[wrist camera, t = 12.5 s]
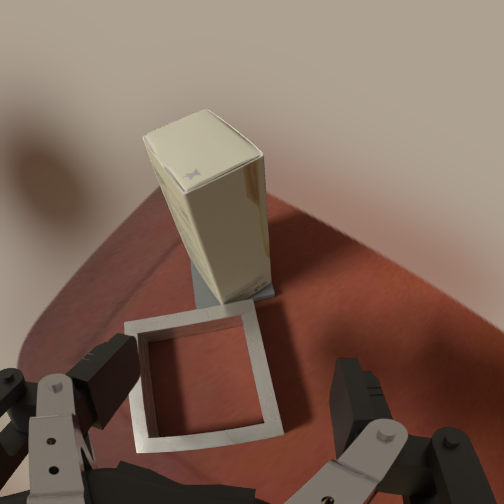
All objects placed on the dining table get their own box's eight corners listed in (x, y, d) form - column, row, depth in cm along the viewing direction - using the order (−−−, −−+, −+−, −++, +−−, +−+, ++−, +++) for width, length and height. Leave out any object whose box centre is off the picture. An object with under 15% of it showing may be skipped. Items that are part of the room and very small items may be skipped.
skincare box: (273, 283, 24) (272, 156, 14) (224, 313, 23) (185, 199, 12) (230, 228, 27) (207, 103, 17) (186, 252, 26) (139, 133, 16)
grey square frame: (283, 434, 18) (284, 434, 16) (148, 452, 18) (136, 453, 16) (254, 310, 23) (252, 298, 22) (135, 332, 23) (124, 322, 21)
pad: (274, 296, 24) (274, 293, 23) (198, 312, 24) (196, 309, 23) (258, 235, 27) (258, 230, 27) (190, 248, 27) (188, 245, 26)
